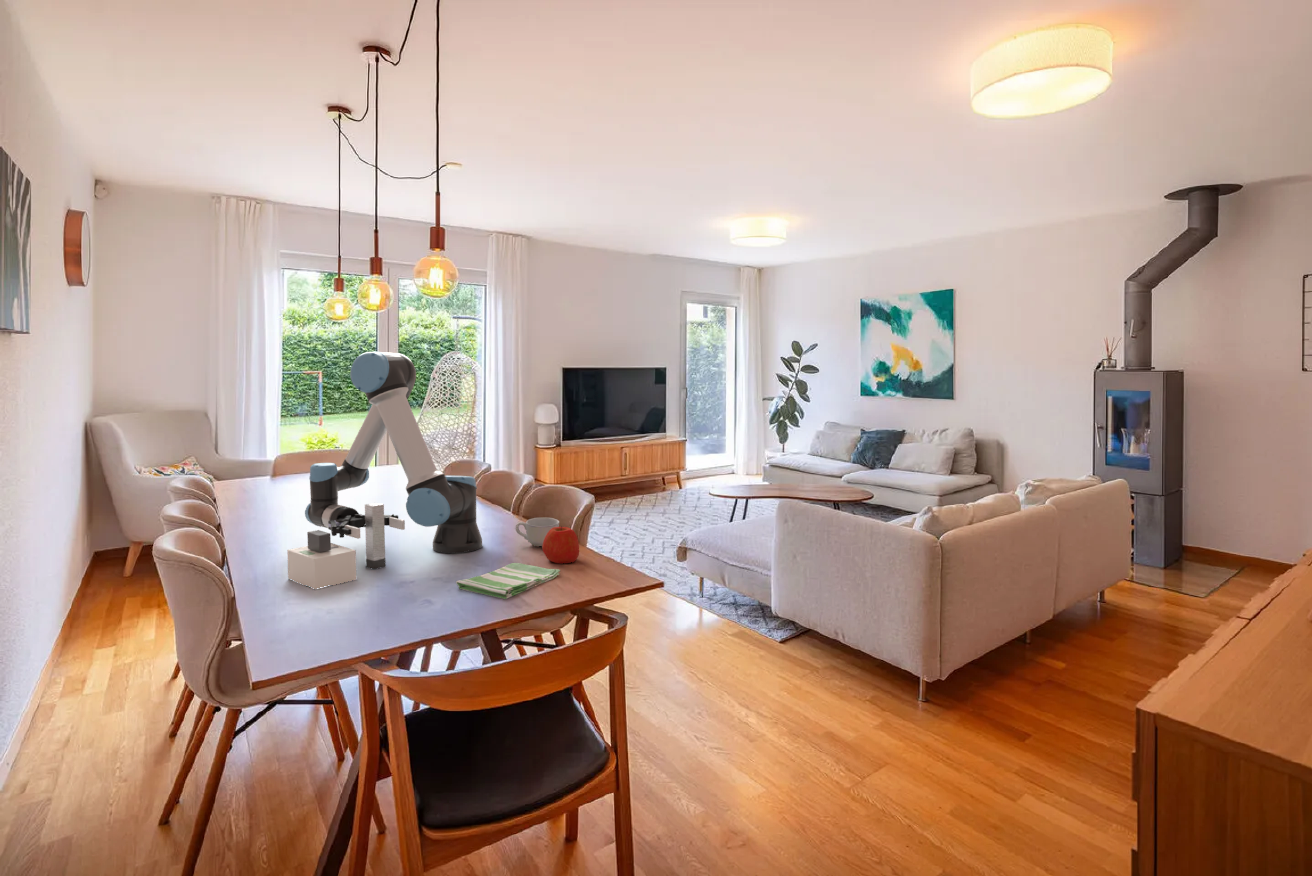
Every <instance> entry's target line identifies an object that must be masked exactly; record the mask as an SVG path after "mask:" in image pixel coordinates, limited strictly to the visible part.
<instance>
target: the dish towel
mask: <svg viewBox="0 0 1312 876" xmlns="http://www.w3.org/2000/svg"><path fill="white" fill-rule="evenodd" d="M560 572H561V569H559V568H545V567H541V566H536V565H531V564H530V565H529V564H525V563H520V562H512V563H509V564H507V565H504V566H503V567H501V568H498V569H496V570H492V571H489V572H487V573H483V574H480V575H477V576H472V577H470V578H466V579H460V580H457V581H455V583H456V585H457V586H458V589H459V590H463V591H466V592H470V593H471V592H472V593H475V594H481V595H485V596H490V597H495V598H498V599H503V600H507V599H509V598H511V597H513V596H516V595H518V594H520V593H522V592H525V591H527V590H530V589H532V588H535V587H536V586H535V585H537V586H539V585H541V584H544V583H546V582H548V581H551V580H553V579H554V578H557V577H558V576H559V575H560ZM557 575H558V576H557ZM534 586H535V587H534Z"/></svg>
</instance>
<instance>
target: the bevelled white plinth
mask: <svg viewBox="0 0 1312 876" xmlns="http://www.w3.org/2000/svg"><path fill="white" fill-rule="evenodd" d="M356 553H357V552H356V549H352V548H349V547H345V546H342V545H339V544H336V543H334V542H333V543H332V542H331V550H329V551H324V552H317V551H313V550H310V549H308V545H305V546H300V547H296V548H291V549H287V575H288V576H287V577H288V578H289V579H292V580H294V581H296V582H298V583H297V584H299V583H301V584H303V585H302V586H304V585H307V586H310V587H312V588H314V589H317V588H320V587H324V586H328V585H333V586H337V585H340V583H341V584H345V583H349V582H352V580H353V581H356V580H357V557H356V555H357V554H356ZM288 578H287V579H288ZM289 579H288V580H289ZM294 581H293V582H294ZM348 581H349V582H348ZM296 582H295V583H296ZM344 582H345V583H344ZM301 584H300V585H301ZM336 584H337V585H336ZM312 588H311V589H312ZM314 589H313V590H314ZM317 590H318V589H317Z"/></svg>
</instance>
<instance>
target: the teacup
mask: <svg viewBox="0 0 1312 876" xmlns="http://www.w3.org/2000/svg"><path fill="white" fill-rule="evenodd" d="M520 526H523V527H524V530H525V533H524V532H522V531H521V530H520V529H519V527H520ZM553 527H560V520H558V519H556V518H553V517H534V518H529V519H527V520H526V522H524V521H519V522H517V523H516V525H515V531H516V533H517V534H518V535H519V536H521V537H522V538H524V540H526V541H528V543H529V544H531V545H532V546H533V545H534V546H533V547H535V546H542V545H543V541H544V538H545V536H546V535H547V533H548V532H549V530H550V529H552V528H553Z"/></svg>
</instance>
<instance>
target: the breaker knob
mask: <svg viewBox="0 0 1312 876" xmlns="http://www.w3.org/2000/svg"><path fill="white" fill-rule="evenodd" d="M331 543H332V541H331V532H327V531H323V530H320V529H318V530H316V529H315V530H311V531H307V546H308V549H310V550H313V551H317V552H324V551H329V550H331Z"/></svg>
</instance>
